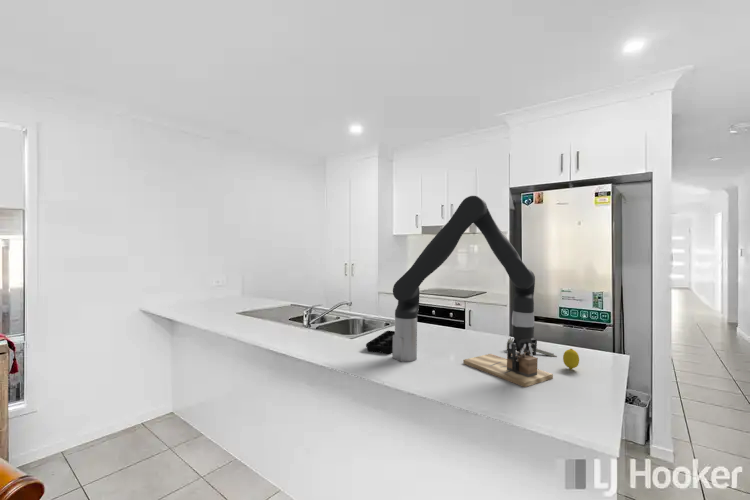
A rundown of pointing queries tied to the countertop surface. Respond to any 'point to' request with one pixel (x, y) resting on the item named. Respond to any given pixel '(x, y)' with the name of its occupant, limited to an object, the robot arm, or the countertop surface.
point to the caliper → (536, 349)
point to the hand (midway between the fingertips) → (521, 369)
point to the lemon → (571, 358)
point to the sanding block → (524, 365)
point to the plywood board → (505, 370)
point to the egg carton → (382, 343)
